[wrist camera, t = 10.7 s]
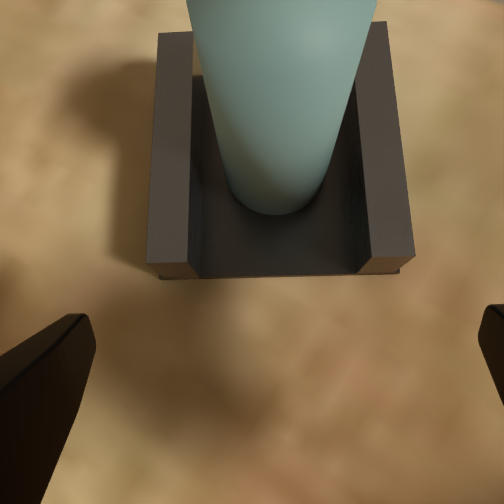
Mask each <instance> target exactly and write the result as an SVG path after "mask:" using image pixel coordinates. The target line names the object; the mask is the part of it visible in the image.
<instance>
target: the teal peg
mask: <svg viewBox="0 0 504 504" xmlns="http://www.w3.org/2000/svg"><path fill="white" fill-rule="evenodd" d="M186 1H187V7H188V12H189V17H190V21H191V25H192V30H193V34H194V39H195V43H196V48H197V52H198V57H199V61H200V65H201V70H202V74H203V79H204V83H205V88H206V92H207V96H208V101H209V105H210V110H211V114H212V119H213V123H214V127H215V132H216V136H217V141H218V145H219V150H220V154H221V159H222V163H223V167H224V172H225V176H226V181H227V184H228V186H229V188H230V190H231V192H232V193H233V195H234V196H235V197H236V199H237V200H238V201H239V202H241V203H242V204H243V205H244V206H246V207H248V208H249V209H251V210H253V211H256V212H259V213H262V214H267V215H283V214H288V213H292V212H295V211H297V210H299V209H301V208H303V207H305V206H306V205H308V204H309V203H310V202H311V201H312V200H313V199H314V198H315V197H316V196H317V194H318V193H319V191H320V190H321V188H322V186H323V183H324V180H325V176H326V173H327V170H328V166H329V163H330V160H331V156H332V153H333V149H334V146H335V143H336V139H337V136H338V133H339V129H340V126H341V122H342V119H343V116H344V112H345V109H346V105H347V102H348V99H349V95H350V92H351V89H352V85H353V82H354V78H355V75H356V72H357V68H358V65H359V62H360V58H361V55H362V51H363V48H364V45H365V41H366V38H367V35H368V31H369V28H370V24H371V21H372V18H373V14H374V11H375V8H376V3H377V0H186Z"/></svg>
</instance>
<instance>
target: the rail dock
mask: <svg viewBox="0 0 504 504" xmlns="http://www.w3.org/2000/svg"><path fill="white" fill-rule="evenodd" d="M415 256H416V255H415V247H414V239H413V231H412V223H411V215H410V207H409V199H408V191H407V183H406V175H405V167H404V159H403V151H402V143H401V135H400V127H399V118H398V110H397V102H396V94H395V86H394V78H393V70H392V62H391V54H390V46H389V38H388V30H387V22H386V21H380V22H371V24H370V28H369V31H368V35H367V38H366V41H365V45H364V48H363V51H362V55H361V58H360V62H359V65H358V68H357V72H356V75H355V78H354V82H353V85H352V89H351V92H350V95H349V99H348V102H347V105H346V109H345V112H344V116H343V119H342V122H341V126H340V129H339V133H338V136H337V139H336V143H335V146H334V149H333V153H332V156H331V160H330V163H329V166H328V170H327V173H326V176H325V180H324V183H323V186H322V188H321V190H320V191H319V193H318V194H317V196H316V197H315V198H314V199H313V200H312V201H311V202H310V203H309V204H308V205H306V206H305V207H303V208H301V209H299V210H297V211H295V212H292V213H288V214H283V215H267V214H262V213H259V212H256V211H253V210H251V209H249V208H248V207H246V206H244V205H243V204H242V203H241V202H239V201H238V200H237V199H236V197H235V196H234V195H233V193H232V192H231V190H230V188H229V186H228V184H227V181H226V176H225V172H224V167H223V163H222V159H221V154H220V150H219V145H218V141H217V136H216V132H215V127H214V123H213V119H212V114H211V110H210V105H209V101H208V96H207V92H206V88H205V83H204V79H203V74H202V70H201V65H200V61H199V57H198V52H197V48H196V43H195V39H194V34H193V31H189V32H169V33H158V48H157V66H156V84H155V102H154V120H153V138H152V156H151V174H150V192H149V210H148V228H147V246H146V264H147V265H148V266H150V267H151V268H152V269H154V270H155V271H156V272H157V273H159V279H160V280H181V279H221V278H262V277H302V276H342V275H383V274H399V273H400V269H399V268H401V267H402V266H403V265H404V264H406V263H407V262H408V261H410V260H411V259H412V258H414V257H415Z"/></svg>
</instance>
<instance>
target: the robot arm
mask: <svg viewBox="0 0 504 504" xmlns="http://www.w3.org/2000/svg"><path fill="white" fill-rule="evenodd" d="M478 342H479V345H480V348H481V350H482V353H483V356H484V358H485V361H486V363H487V366H488V368H489V371H490V373H491V376H492V378H493V381H494V383H495V386H496V388H497V391H498V394H499V396H500V398H501V401H502V403H503V405H504V304H490V305H488V306H487V307H486V308H485V311H484V314H483V318H482V321H481V325H480V328H479V332H478ZM95 351H96V340H95V336H94V333H93V330H92V326H91V323H90V320H89V317H88V316H87V315H86V314H84V313H75V314H67V315H65V316H64V317H62V318H60V319H59V320H57V321H56V322H54V323H52V324H51V325H49V326H48V327H46V328H44V329H43V330H41V331H40V332H38V333H36V334H35V335H33V336H32V337H30V338H28V339H27V340H25V341H24V342H22V343H20V344H19V345H17V346H16V347H14V348H12V349H11V350H9V351H8V352H6V353H4V354H3V355H1V356H0V504H41V501H42V499H43V496H44V494H45V491H46V489H47V487H48V484H49V482H50V479H51V477H52V474H53V472H54V469H55V467H56V465H57V462H58V460H59V457H60V455H61V452H62V450H63V447H64V445H65V443H66V440H67V438H68V435H69V433H70V430H71V428H72V425H73V423H74V420H75V418H76V415H77V413H78V410H79V407H80V404H81V400H82V397H83V393H84V390H85V386H86V383H87V379H88V376H89V372H90V369H91V365H92V362H93V358H94V355H95Z"/></svg>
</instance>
